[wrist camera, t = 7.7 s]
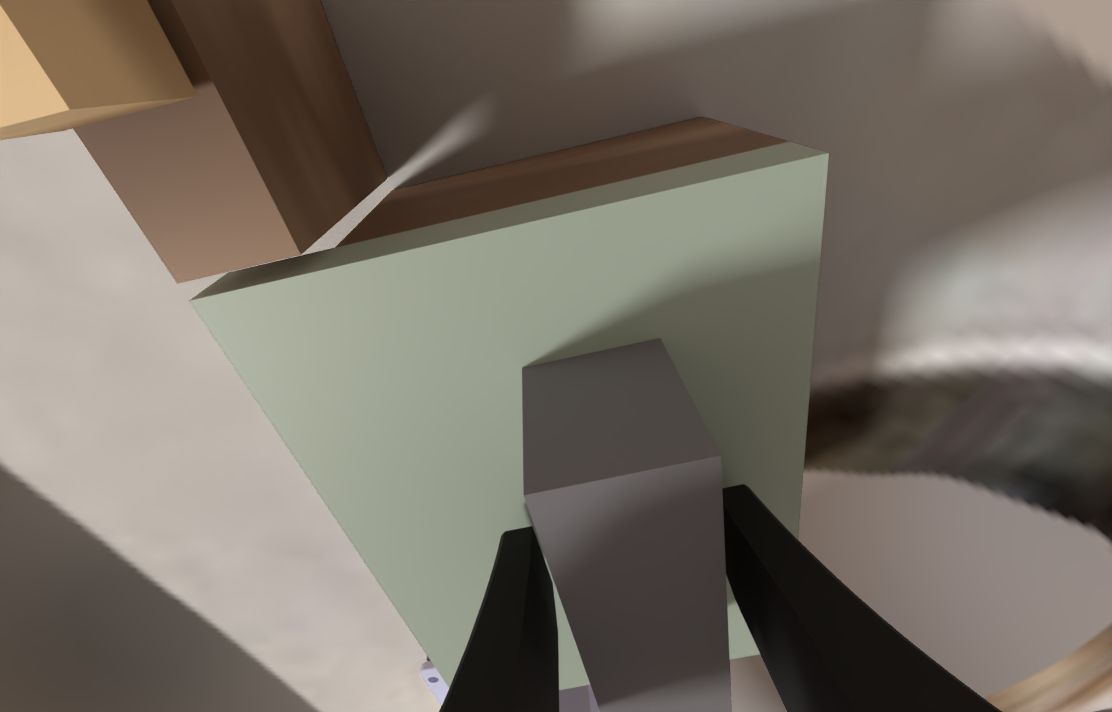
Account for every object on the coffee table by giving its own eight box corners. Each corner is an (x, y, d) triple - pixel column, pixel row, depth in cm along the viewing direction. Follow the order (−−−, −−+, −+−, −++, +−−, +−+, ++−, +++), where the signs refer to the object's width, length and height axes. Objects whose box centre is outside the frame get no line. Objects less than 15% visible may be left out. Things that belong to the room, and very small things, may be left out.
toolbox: (720, 500, 19) (789, 648, 14) (476, 548, 20) (462, 707, 15) (691, -116, 10) (864, -295, 5) (224, 7, 10) (-42, -43, 5)
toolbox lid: (757, 581, 16) (847, 775, 12) (468, 635, 17) (450, 842, 12) (763, 134, 9) (1004, 203, 5) (254, 253, 10) (22, 421, 5)
